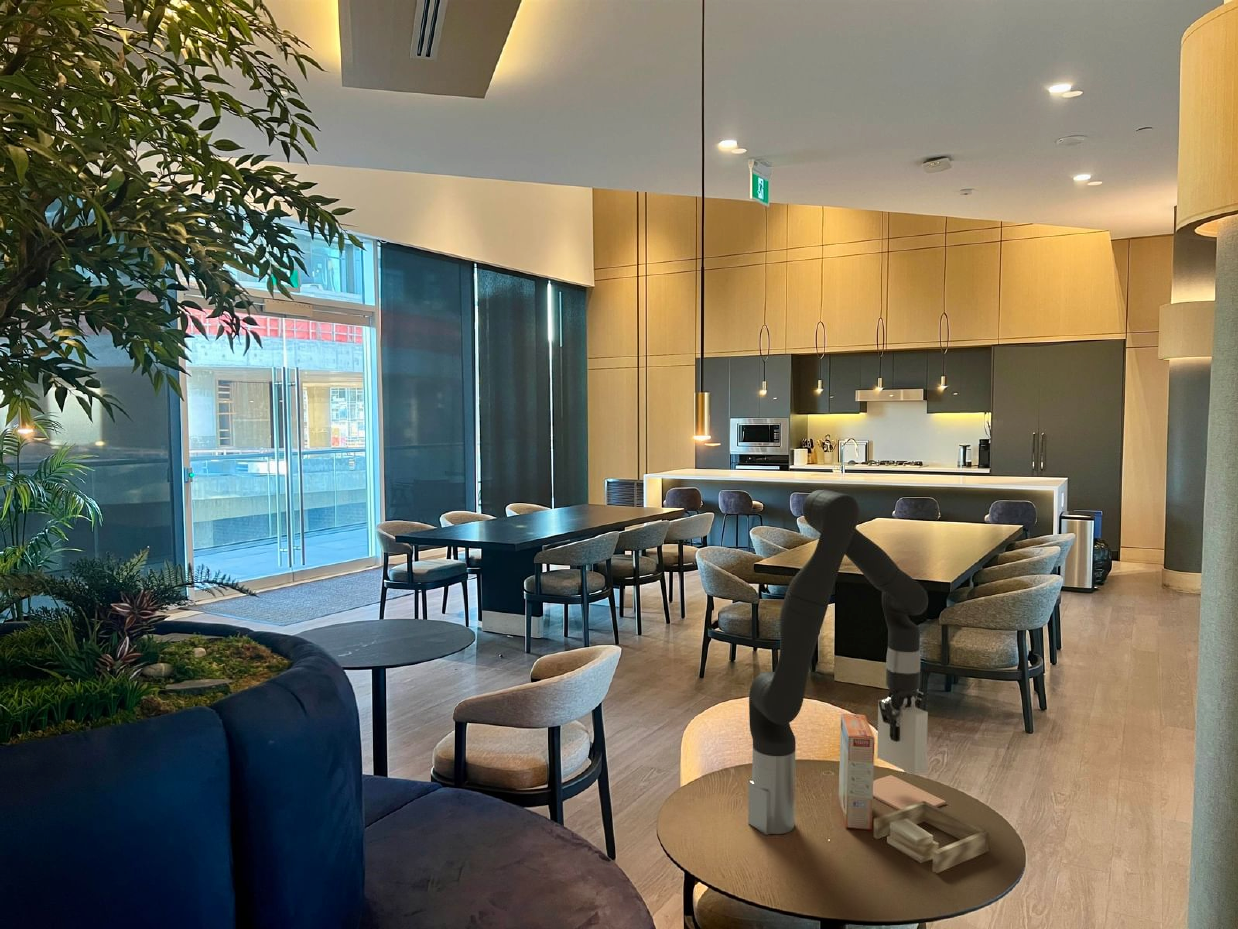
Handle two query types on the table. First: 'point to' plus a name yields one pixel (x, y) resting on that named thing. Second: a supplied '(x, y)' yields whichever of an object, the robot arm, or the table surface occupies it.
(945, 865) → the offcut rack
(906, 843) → the offcut stack
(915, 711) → the white block
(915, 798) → the terracotta tile
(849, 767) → the cracker box
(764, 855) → the table surface
